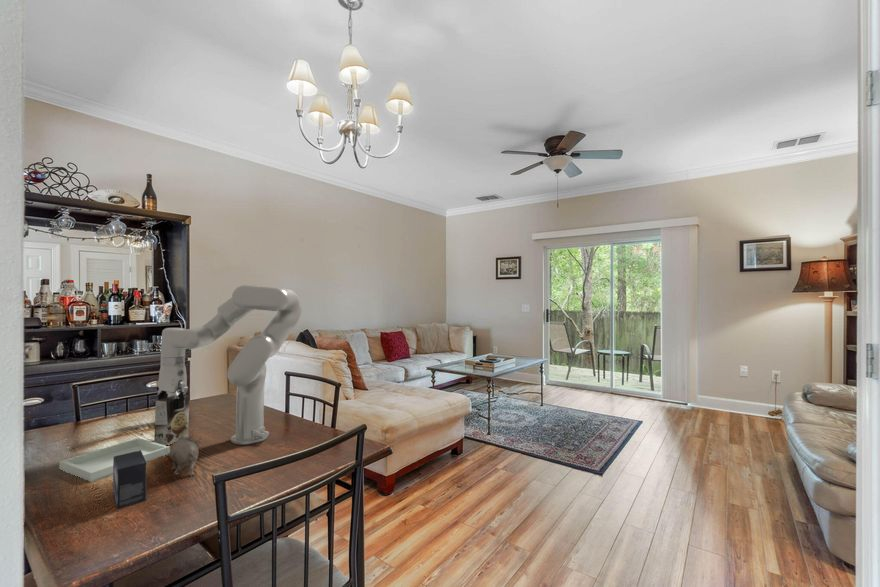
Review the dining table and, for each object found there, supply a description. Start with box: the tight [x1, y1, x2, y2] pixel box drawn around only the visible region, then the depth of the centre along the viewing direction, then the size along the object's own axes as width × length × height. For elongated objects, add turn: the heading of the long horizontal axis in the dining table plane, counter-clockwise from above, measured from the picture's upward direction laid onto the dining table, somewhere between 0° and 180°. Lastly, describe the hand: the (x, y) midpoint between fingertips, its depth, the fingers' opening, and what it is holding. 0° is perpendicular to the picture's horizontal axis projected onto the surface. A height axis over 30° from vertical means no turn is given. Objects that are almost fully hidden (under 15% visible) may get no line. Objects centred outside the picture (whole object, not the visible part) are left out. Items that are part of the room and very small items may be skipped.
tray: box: [58, 437, 171, 483], centre depth 127 cm, size 18×22×3 cm
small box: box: [112, 450, 148, 509], centre depth 106 cm, size 11×6×10 cm, turn 45°
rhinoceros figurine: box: [169, 434, 202, 477], centre depth 123 cm, size 8×14×15 cm
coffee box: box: [153, 394, 190, 446], centre depth 146 cm, size 9×6×16 cm
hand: (170, 406), depth 146 cm, fingers open, 9 cm apart
